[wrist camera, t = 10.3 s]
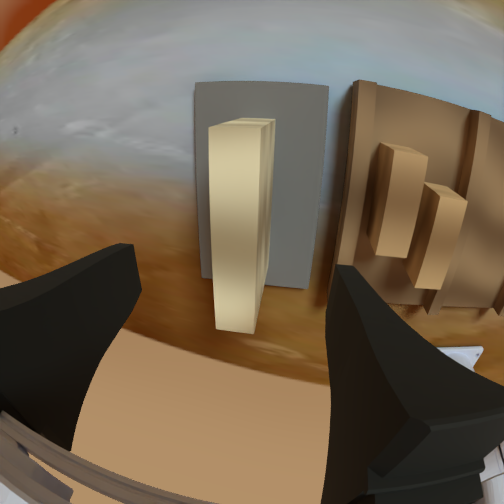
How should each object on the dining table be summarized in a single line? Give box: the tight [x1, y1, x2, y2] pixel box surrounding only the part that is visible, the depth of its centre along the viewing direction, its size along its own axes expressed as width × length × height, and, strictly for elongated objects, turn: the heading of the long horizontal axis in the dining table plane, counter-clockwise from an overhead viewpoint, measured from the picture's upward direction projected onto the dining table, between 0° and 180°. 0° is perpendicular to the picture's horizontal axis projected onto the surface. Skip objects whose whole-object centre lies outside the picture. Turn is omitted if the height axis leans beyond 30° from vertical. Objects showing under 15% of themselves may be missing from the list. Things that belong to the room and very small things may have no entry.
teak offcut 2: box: [402, 182, 468, 290], centre depth 16 cm, size 6×2×3 cm, turn 178°
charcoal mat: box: [195, 81, 329, 289], centre depth 19 cm, size 14×8×1 cm, turn 178°
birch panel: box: [209, 118, 276, 334], centre depth 16 cm, size 10×2×7 cm, turn 178°
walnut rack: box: [327, 80, 504, 316], centre depth 17 cm, size 15×17×2 cm
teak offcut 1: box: [366, 142, 428, 258], centre depth 16 cm, size 6×2×3 cm, turn 178°
